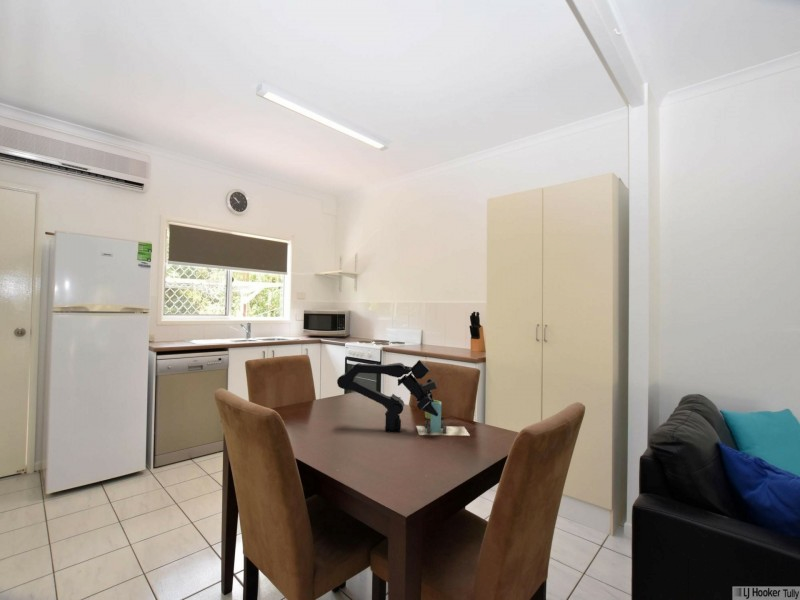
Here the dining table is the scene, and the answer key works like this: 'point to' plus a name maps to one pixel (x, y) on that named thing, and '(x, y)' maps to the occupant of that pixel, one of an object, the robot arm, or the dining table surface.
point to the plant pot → (428, 415)
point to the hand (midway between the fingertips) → (437, 412)
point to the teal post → (436, 418)
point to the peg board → (442, 430)
